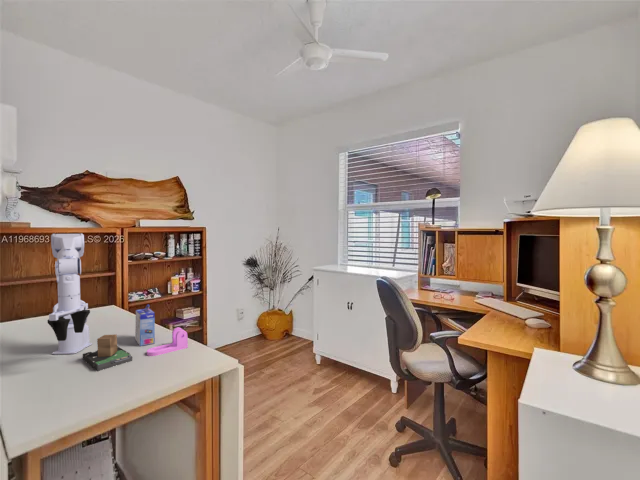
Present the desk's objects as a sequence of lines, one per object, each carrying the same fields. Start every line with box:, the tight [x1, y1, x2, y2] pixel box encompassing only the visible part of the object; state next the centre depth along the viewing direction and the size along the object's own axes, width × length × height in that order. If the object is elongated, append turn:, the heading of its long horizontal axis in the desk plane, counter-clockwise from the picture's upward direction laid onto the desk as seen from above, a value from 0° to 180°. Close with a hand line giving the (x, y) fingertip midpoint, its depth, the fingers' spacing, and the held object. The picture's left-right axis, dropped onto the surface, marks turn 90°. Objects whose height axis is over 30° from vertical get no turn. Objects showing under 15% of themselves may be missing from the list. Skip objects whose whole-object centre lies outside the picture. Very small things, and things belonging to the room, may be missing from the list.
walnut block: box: [96, 333, 118, 357], centre depth 106 cm, size 4×4×6 cm
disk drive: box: [82, 345, 133, 372], centre depth 106 cm, size 10×3×15 cm
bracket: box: [146, 326, 189, 357], centre depth 115 cm, size 13×6×7 cm, turn 132°
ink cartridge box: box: [134, 303, 156, 347], centre depth 123 cm, size 10×6×14 cm, turn 40°
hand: (70, 336), depth 102 cm, fingers open, 7 cm apart
